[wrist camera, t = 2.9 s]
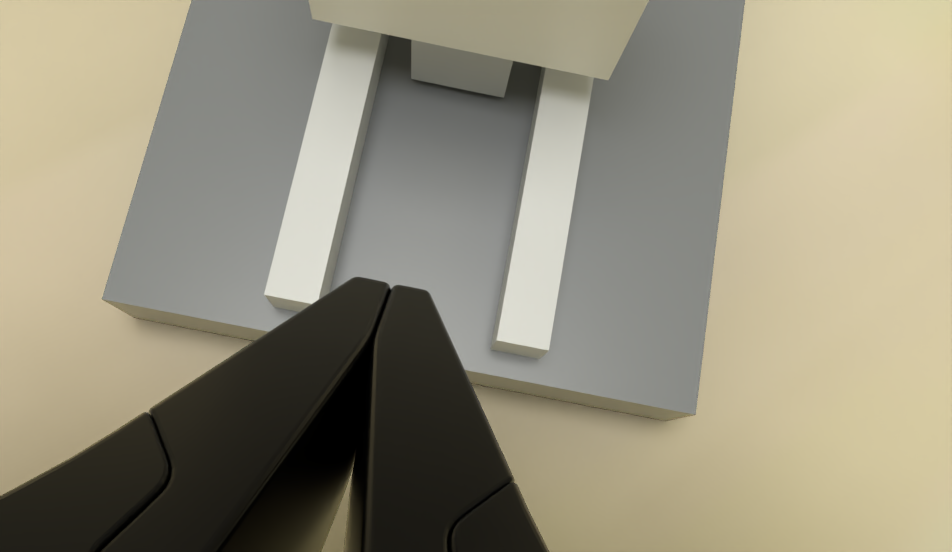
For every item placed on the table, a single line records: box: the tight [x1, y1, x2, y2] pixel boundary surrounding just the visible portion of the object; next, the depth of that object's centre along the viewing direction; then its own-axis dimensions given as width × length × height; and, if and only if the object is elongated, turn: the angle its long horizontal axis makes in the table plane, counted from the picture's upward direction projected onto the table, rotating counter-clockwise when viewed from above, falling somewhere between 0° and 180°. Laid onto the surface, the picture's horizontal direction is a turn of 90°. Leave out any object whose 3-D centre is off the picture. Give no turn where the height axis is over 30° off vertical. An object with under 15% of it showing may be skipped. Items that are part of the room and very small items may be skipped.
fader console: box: [102, 0, 745, 421], centre depth 19 cm, size 16×12×3 cm
